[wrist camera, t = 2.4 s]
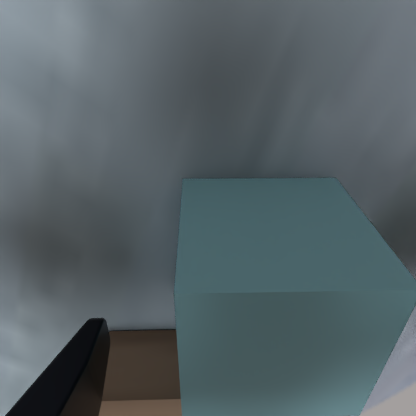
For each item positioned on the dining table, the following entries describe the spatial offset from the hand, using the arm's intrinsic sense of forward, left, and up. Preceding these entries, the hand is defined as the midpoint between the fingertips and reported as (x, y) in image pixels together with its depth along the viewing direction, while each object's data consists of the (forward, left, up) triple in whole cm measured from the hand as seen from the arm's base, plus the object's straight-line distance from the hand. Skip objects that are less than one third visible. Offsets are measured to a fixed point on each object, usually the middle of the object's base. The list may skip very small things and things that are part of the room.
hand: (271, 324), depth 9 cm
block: (0, 0, -4) cm, 4 cm away
